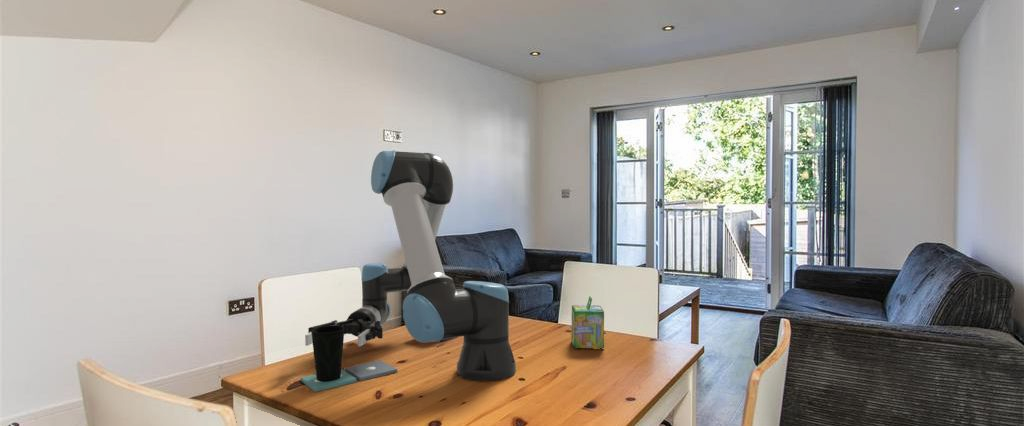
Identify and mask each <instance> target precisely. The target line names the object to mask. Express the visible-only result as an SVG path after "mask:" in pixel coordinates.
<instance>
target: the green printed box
mask: <svg viewBox="0 0 1024 426" xmlns="http://www.w3.org/2000/svg"><path fill="white" fill-rule="evenodd" d="M592 301H593V299H592V296H588V300H587V303H586V305H584V304H583V305H582V304H578V305H577V304H572V305H571V333H570V334H571V336H570V338H571V339H570V340H571V343H572V346H574V347H573V349H574V348H604V349H605V333H604V332H605V311H604V310H603V307H602V306H601V305H592Z"/></svg>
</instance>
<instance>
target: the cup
mask: <svg viewBox="0 0 1024 426" xmlns="http://www.w3.org/2000/svg"><path fill="white" fill-rule="evenodd" d="M344 329H345V328H344V327H342V326H322V327H318V328H315V329H313V330H312V331H311V333H312V342H313V343H312V348H313V358H314V359H313V360H314V368H315V374H316V378H317V380H318V381H321V382H328V381H334V380H337V379H339V378H340V377H341V369H342V365H343V353H344V352H343V351H344V340H345V338H344V337H345V334H344Z"/></svg>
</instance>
